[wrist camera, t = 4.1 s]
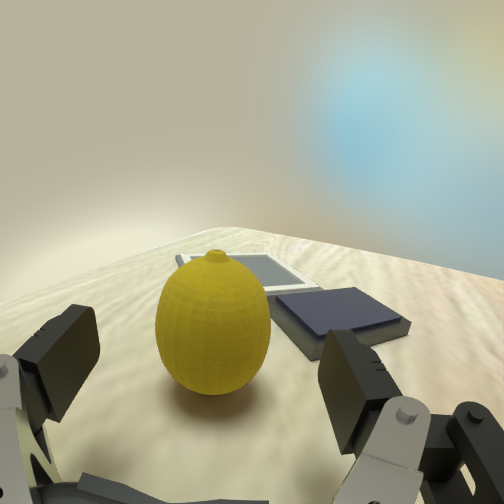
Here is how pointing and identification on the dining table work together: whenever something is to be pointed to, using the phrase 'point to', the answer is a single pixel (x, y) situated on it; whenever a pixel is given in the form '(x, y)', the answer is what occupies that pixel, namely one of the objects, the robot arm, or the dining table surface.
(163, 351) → the lemon
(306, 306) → the ink pad
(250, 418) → the dining table surface
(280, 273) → the marked board
